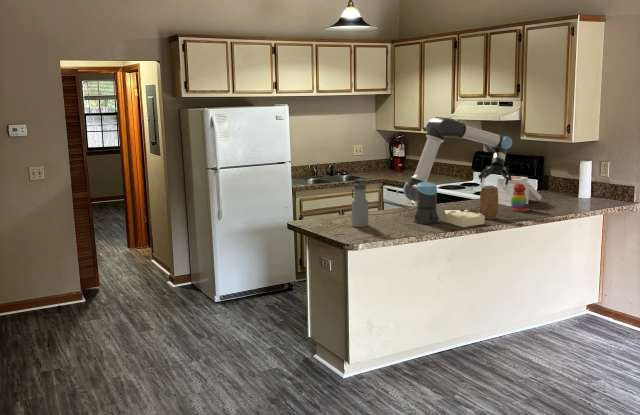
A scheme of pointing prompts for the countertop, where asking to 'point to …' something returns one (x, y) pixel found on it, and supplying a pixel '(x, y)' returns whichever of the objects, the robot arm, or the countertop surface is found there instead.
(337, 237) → the countertop surface
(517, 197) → the stacking bear
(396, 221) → the countertop surface
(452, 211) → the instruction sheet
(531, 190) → the white storage box
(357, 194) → the water bottle
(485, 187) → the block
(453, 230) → the countertop surface
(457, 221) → the cream knobbed square piece
